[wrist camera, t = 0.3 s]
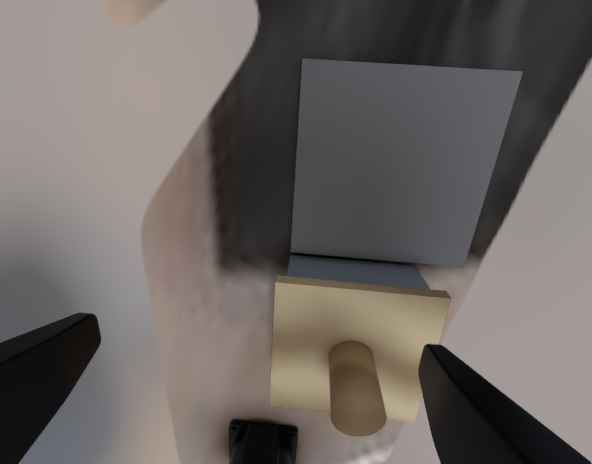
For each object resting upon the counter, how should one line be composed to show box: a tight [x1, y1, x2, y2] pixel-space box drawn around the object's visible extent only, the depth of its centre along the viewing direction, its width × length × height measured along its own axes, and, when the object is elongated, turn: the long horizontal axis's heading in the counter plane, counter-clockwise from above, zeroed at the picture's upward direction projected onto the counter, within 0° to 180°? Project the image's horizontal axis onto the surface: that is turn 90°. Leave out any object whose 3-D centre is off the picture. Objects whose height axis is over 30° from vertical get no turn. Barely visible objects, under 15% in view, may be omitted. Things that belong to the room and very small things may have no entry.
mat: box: [290, 58, 523, 267], centre depth 19 cm, size 12×12×1 cm
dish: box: [286, 255, 430, 289], centre depth 22 cm, size 9×9×4 cm
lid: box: [270, 275, 451, 436], centre depth 18 cm, size 10×10×5 cm
